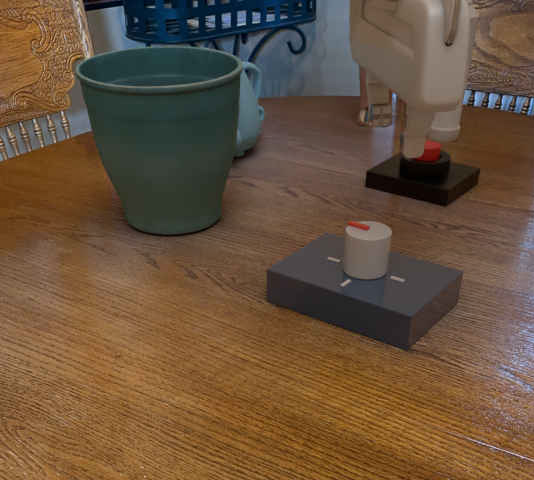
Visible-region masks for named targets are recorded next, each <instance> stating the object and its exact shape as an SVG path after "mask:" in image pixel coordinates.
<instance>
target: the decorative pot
mask: <svg viewBox="0 0 534 480" xmlns="http://www.w3.org/2000/svg"><path fill="white" fill-rule="evenodd" d="M205 48H206V49H211V48H209V47H205ZM242 64H243V70H242V73H241V77H240V96H239V107H238V128H237V140H236V147H235V153H234V157H233V158H237V157H243V156H244V155H245V151H247V150H249V149H251V148H252V147H254V145H255V143H256V142H257V140H258V138H259V137H260V134H261V130H262V122H263V121H264V120H265V116H266V112H265V109H264V107H263V106H261V105H260V104H259V99H260V96H261V91H262V88H263V74H262V72H261V70H260V68H259V67H258V66H257V65H256V64H254V63H253V62H250V61H242ZM247 70H249V71H251V72H252V75H253V83H252V84H251V81H250V80H249V77H248V74H247V73H246V71H247Z"/></svg>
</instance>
